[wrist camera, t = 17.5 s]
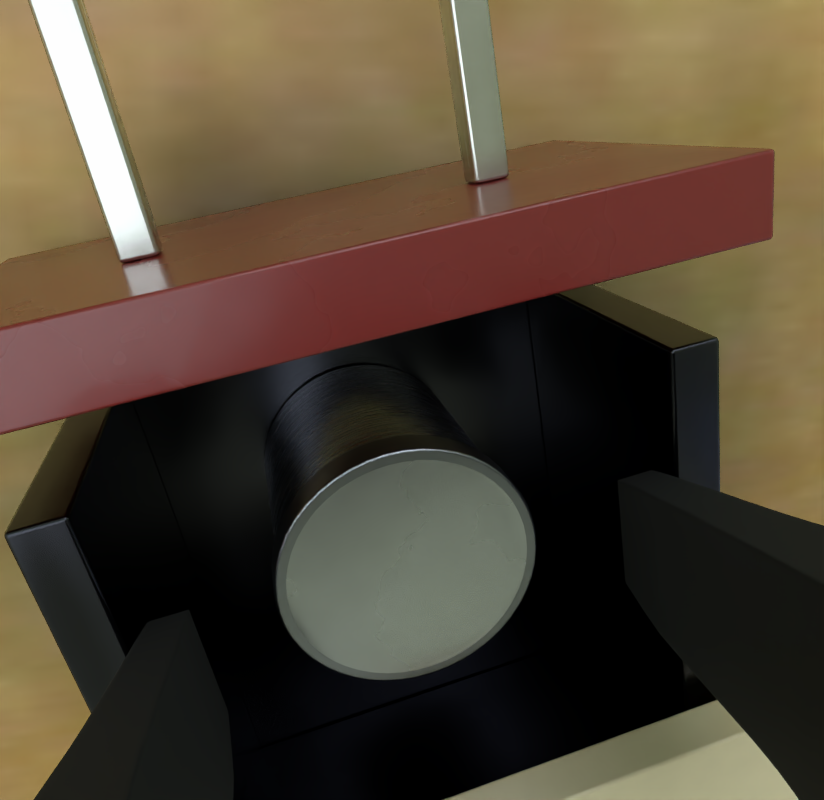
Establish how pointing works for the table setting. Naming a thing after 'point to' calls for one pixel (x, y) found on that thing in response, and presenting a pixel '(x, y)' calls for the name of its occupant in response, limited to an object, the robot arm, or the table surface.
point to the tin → (390, 528)
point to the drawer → (383, 346)
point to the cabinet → (653, 766)
